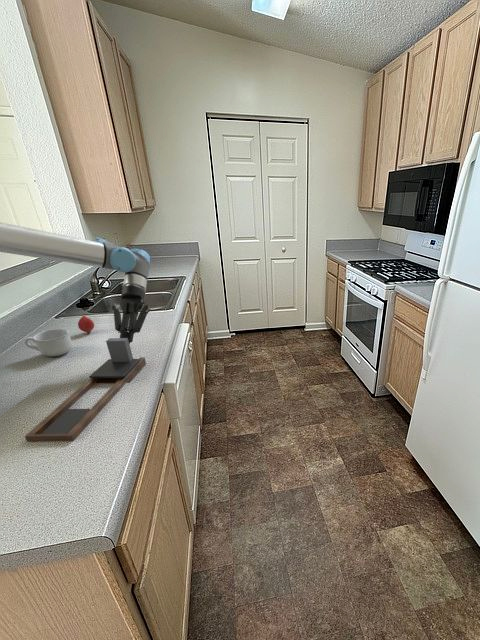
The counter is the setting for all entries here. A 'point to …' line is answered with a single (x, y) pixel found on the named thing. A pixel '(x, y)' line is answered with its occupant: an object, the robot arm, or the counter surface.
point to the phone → (66, 421)
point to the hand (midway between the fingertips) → (124, 350)
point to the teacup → (51, 342)
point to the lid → (116, 360)
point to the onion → (86, 324)
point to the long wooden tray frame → (90, 415)
